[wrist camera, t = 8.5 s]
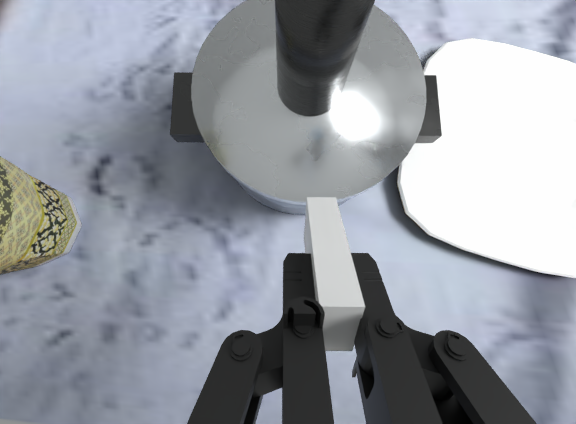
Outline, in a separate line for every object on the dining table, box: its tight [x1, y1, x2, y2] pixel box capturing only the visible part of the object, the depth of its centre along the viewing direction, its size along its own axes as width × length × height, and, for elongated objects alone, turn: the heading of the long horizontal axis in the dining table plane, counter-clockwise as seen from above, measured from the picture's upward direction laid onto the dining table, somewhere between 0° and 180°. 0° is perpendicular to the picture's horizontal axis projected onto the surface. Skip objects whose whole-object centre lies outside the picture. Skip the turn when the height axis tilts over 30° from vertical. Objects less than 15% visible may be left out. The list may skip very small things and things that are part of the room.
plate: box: [397, 38, 576, 278], centre depth 28 cm, size 22×22×2 cm
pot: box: [170, 73, 442, 215], centre depth 24 cm, size 20×15×7 cm
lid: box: [191, 0, 426, 205], centre depth 16 cm, size 16×16×10 cm
